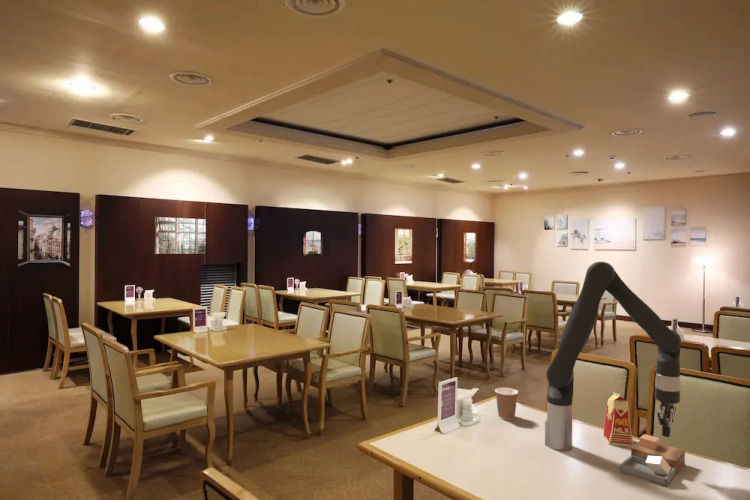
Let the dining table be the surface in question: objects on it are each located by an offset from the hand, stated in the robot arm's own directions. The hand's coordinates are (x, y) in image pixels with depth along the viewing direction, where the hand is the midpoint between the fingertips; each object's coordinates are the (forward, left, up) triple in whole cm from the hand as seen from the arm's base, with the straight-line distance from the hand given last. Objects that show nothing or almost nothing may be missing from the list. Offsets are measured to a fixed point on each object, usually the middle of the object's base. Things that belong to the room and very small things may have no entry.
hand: (666, 436), depth 164 cm
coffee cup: (-65, +5, -12) cm, 67 cm away
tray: (-3, -8, -12) cm, 15 cm away
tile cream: (0, -7, -7) cm, 10 cm away
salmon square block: (-6, +5, -7) cm, 10 cm away
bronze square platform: (-3, +4, -12) cm, 13 cm away
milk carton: (-20, +14, -12) cm, 27 cm away
